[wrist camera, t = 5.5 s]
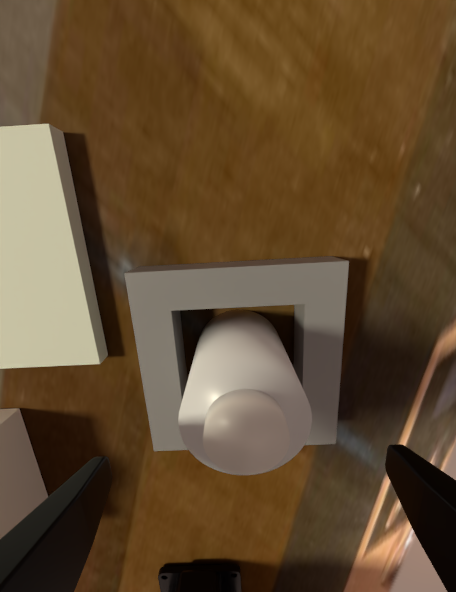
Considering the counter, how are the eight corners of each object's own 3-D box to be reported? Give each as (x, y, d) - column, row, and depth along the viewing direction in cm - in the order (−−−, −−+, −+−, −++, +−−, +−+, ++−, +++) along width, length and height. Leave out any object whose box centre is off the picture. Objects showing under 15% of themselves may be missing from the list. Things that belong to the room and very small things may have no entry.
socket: (323, 418, 16) (335, 443, 14) (162, 425, 17) (154, 451, 15) (331, 256, 14) (348, 261, 12) (139, 266, 14) (124, 273, 12)
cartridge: (280, 382, 16) (316, 493, 9) (201, 386, 16) (181, 498, 9) (280, 307, 14) (322, 373, 8) (194, 311, 15) (165, 380, 8)
